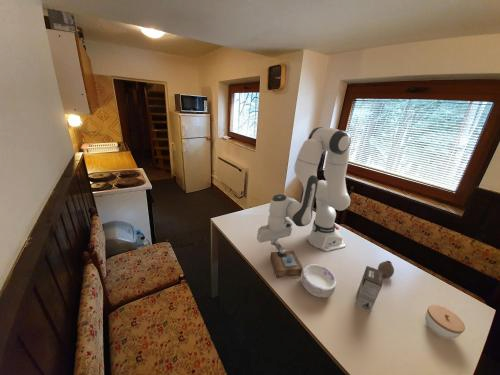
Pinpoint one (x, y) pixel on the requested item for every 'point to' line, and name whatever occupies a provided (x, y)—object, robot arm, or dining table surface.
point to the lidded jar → (443, 322)
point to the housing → (281, 269)
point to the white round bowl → (318, 280)
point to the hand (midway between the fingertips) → (272, 244)
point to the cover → (289, 261)
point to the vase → (386, 269)
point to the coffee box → (369, 288)
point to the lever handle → (280, 249)
